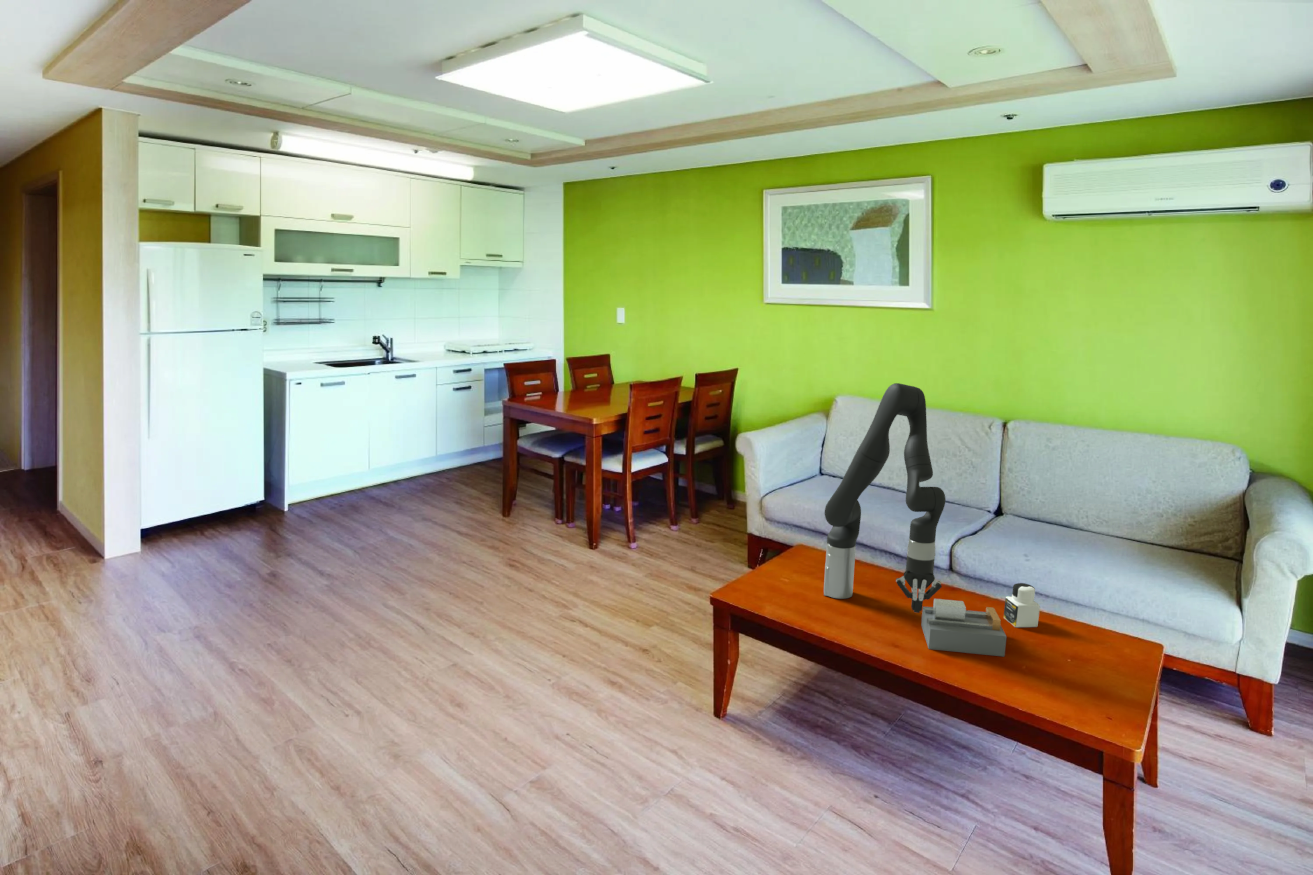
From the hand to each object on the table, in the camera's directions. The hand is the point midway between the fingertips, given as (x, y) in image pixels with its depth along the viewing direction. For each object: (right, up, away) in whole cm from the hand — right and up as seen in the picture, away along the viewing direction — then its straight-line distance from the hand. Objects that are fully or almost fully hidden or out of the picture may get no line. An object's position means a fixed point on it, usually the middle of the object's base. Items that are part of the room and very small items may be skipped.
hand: (916, 611), depth 224 cm
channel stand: (+13, -8, -1) cm, 15 cm away
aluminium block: (+9, -2, -1) cm, 9 cm away
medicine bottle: (+36, -6, +12) cm, 38 cm away
